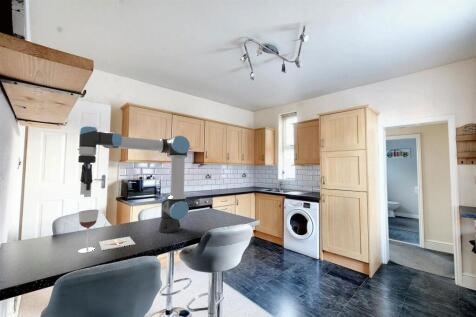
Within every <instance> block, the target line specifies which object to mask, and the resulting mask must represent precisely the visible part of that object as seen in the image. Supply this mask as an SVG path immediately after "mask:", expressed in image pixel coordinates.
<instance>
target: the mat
mask: <svg viewBox="0 0 476 317" xmlns="http://www.w3.org/2000/svg"><path fill="white" fill-rule="evenodd" d="M98 244H99V247H100V249H101V251H102V252H103V250H104V251H109V250H113V249H117V248H125V247H129V245H130V246H134V245H136V242H135V241H134V240H133V239H132V237H131V236H125V237H119V238H112V239H107V240H106V239H105V240H102V241H100V240H99V241H98ZM124 246H125V247H124ZM108 249H109V250H108Z"/></svg>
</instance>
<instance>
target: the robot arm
mask: <svg viewBox="0 0 476 317" xmlns="http://www.w3.org/2000/svg"><path fill="white" fill-rule="evenodd" d="M78 138H79V140H78V141H79V142H78V144H79V146H78V148H77V151H78V160H77V162H78V163H81V173H80V180H79V181H80V193H79V194H80V195H83V197H84V198H88V197H89V198H90V197H91V196H92V183H93V164H95V163H96V162H97V161H96V160H97V156H96V155H97V146H102V147H103V148H105V149H124V150H136V151H137V150H139V151H140V150H141V151H152V152H153V151H154V152H159V153H161V154H168V157H169V158H170V159H171V160H170V161H171V162H170V164H171V165H170V166H171V167H170V195H169V196H166V197H165V196H163V197H162V198H161V212H160V214H161V215H160V221H159V224H158V227H157V231H158V232H159V233H164V234H165V233H166V234H167V233H174V232H175V233H177V232H178V231H181V226H182V224H181V223H180V220H181V219H183V218H185V217H186V216H187V215H188V212H189V206H188V204H187V196H186V195H185V162H186V160H185V159H187V157H188V151H189V150H190V147H191V146H190V141H189V139H188V138H187V137H185V136H184V135H175V136H173V137H171V138H170V137H169V138H160V139H152V138H142V137H141V138H140V137H128V136H122V133H120V132H119V133H117V132H110V131H109V132H108V131H99V130H98V128H97V127H95V126H90V125H83V126H81V127H80V129H79V137H78Z"/></svg>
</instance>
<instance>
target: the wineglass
mask: <svg viewBox="0 0 476 317" xmlns="http://www.w3.org/2000/svg"><path fill="white" fill-rule="evenodd" d="M98 218H99V209H86V210H80V211H78V220H79V224H80V227H83V228H86V243H85V244H86V245H85V248H81V249H78V251H77V252H78V253H84V254H85V253H90V252H93V251H95V250H96V249H95V248H96V247H94V248H93V247H89V237H90V236H89V234H90V229H91V227H93V226H94V225H96V224H97V221H98ZM94 249H95V250H94ZM92 250H93V251H92Z"/></svg>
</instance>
